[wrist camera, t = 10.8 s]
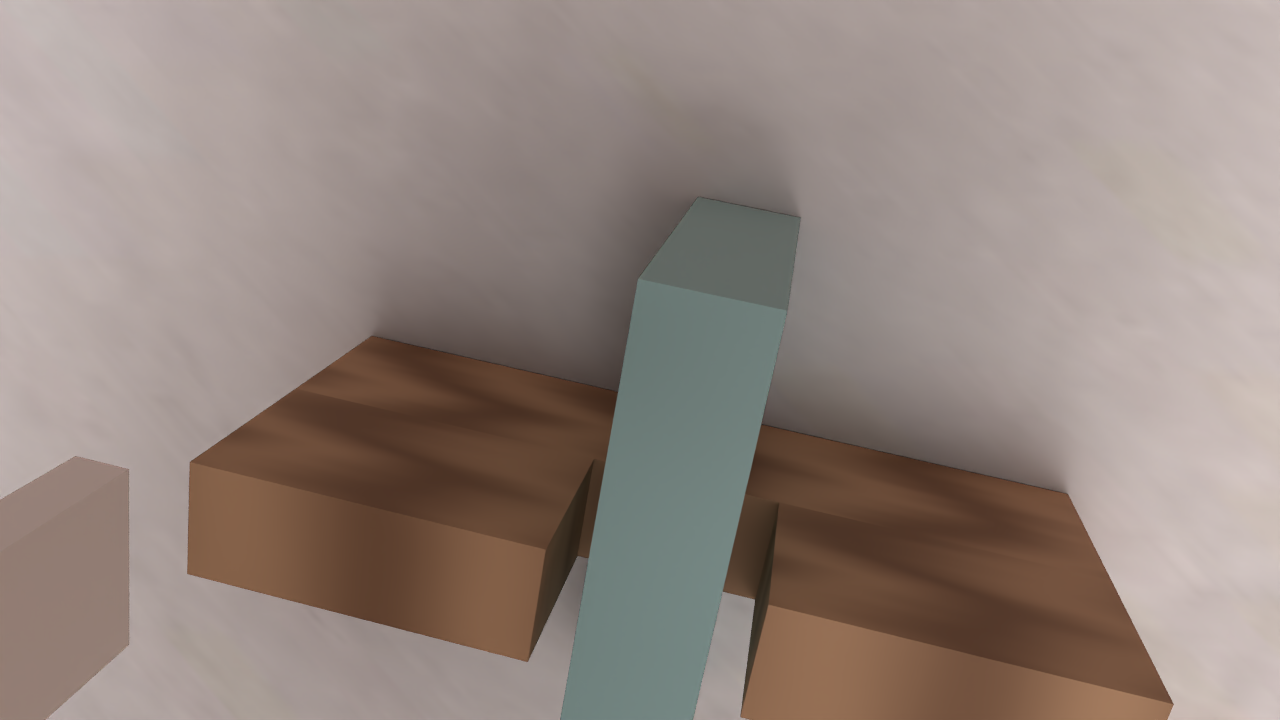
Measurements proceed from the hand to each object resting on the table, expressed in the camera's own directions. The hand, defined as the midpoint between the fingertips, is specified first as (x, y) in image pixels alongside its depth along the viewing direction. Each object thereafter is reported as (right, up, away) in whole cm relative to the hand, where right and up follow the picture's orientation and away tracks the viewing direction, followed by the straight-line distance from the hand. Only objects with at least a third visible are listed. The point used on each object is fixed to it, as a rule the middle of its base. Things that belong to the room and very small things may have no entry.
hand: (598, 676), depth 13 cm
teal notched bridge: (+2, +1, +19) cm, 19 cm away
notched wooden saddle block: (+2, +1, +19) cm, 19 cm away
